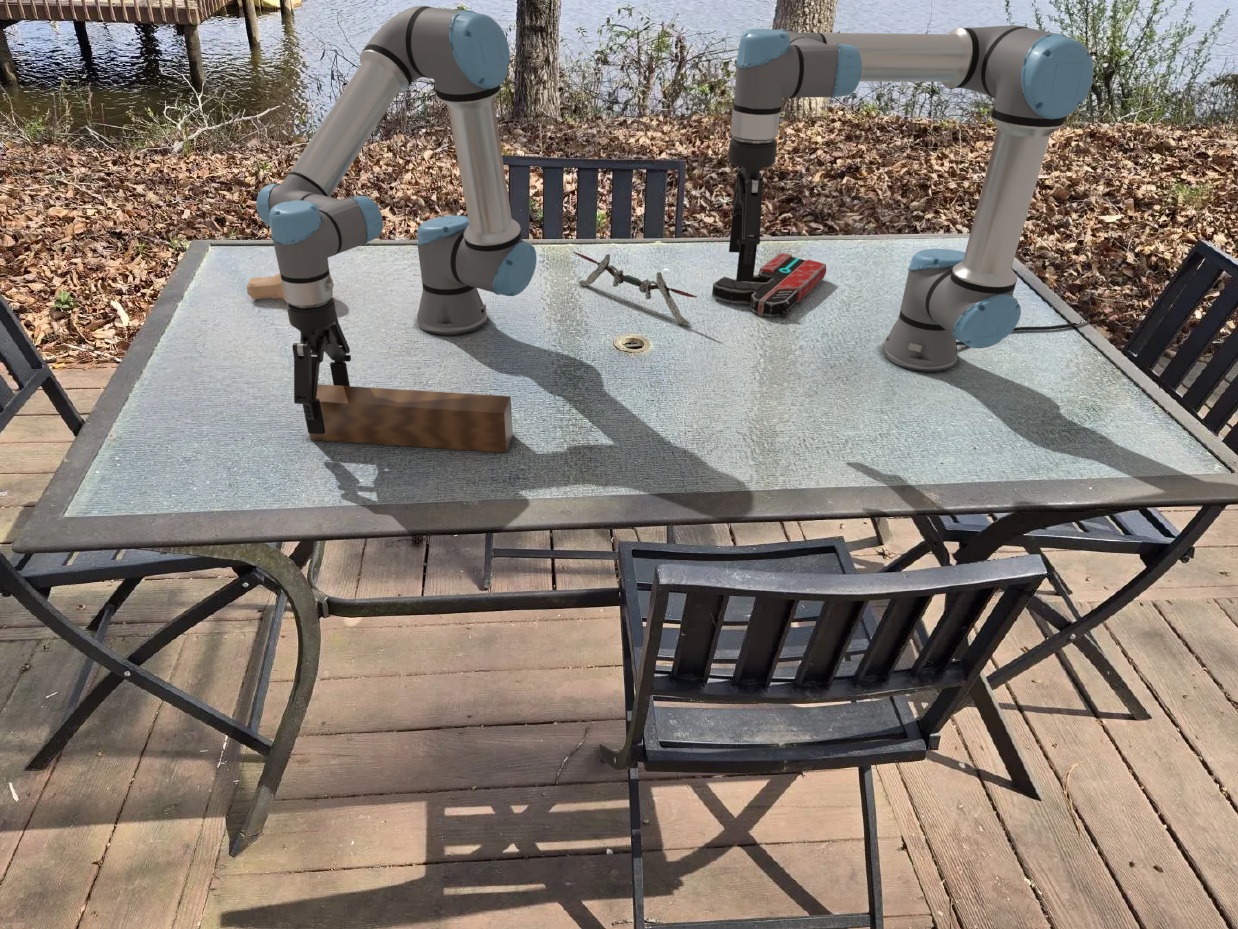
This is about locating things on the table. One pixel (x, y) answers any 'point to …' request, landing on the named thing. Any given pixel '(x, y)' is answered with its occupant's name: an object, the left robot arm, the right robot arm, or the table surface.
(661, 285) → the bow
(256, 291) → the squash
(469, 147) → the left robot arm
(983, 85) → the right robot arm
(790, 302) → the gun
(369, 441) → the bar
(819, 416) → the table surface
